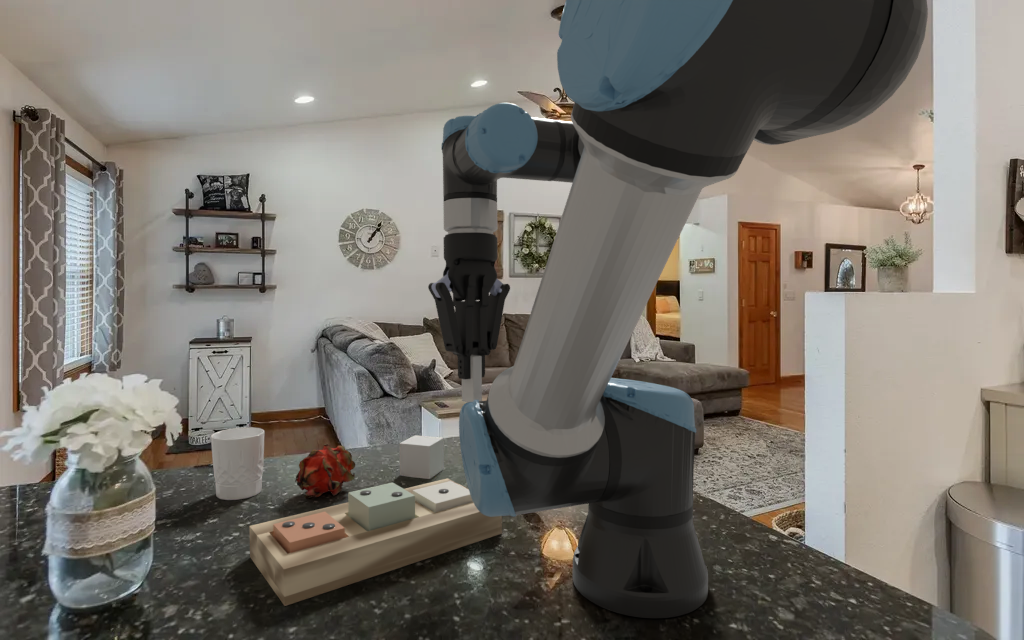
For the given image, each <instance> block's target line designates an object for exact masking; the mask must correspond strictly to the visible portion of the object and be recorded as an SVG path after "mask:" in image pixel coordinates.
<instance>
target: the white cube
mask: <svg viewBox="0 0 1024 640" xmlns="http://www.w3.org/2000/svg"><path fill="white" fill-rule="evenodd" d="M444 442H445V438H444V437H437V436H430V435H429V436H426V435H418V434H415V435H413V436H411V437H409V438H407V439H405V440H403V441H402V442H399V443H398V445H399V451H398V452H399V476H400V477H409V478H418V479H419V478H420V479H428V480H430V479H432V478H433V477H435V476H437V475H438V474H439V473H441V472H442V471H444V469H445V448H444V447H445V443H444Z"/></svg>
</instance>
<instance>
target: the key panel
mask: <svg viewBox="0 0 1024 640" xmlns="http://www.w3.org/2000/svg"><path fill="white" fill-rule="evenodd" d="M448 481H452V482H454V483H456V484H458V485H460V486H462V487H464V488H466V489H468V487H465V486H463V485H462V484H460V483H459V482H456V481H454V480H452V479H450V478H448V477H447V478H443V479H439V480H435V481H432V482H427V483H423V484H419V485H415V486H410V487H407V488H404V489H405V490H406V491H408V492H410V493H411V494H413V490H416V489H420V488H424V487H428V486H432V485H436V484H440V483H444V482H448ZM468 490H469V489H468ZM321 512H326V513H328V514H329V515H330V516H331V517H332V518H333V519H335V520H336V521H337V522H338V523H339V524H341V525H342V526H343V527H344V528H345V538H342V539H339V540H335V541H332V542H328V543H324V544H321V545H317V546H314V547H310V548H306V549H303V550H299V551H296V552H292V553H289V554H287V553H286V551H285V550H284V549H283V548H282V547H281V546H280V544H279V543H278V542H277V541H276V540H275V539H274V537H273V524H276V523H280V522H284V521H288V520H292V519H296V518H301V517H305V516H309V515H313V514H317V513H321ZM502 526H503V516H495V517H489V516H485V515H483V514H482V513H481V512H480V511H479V510H478V509H477V508H476V506H475V504H474V503H473V502H471V503H468V504H464V505H460V506H457V507H453V508H450V509H446V510H442V511H439V512H433V511H431V510H430V509H428V508H426V507H425V506H423V505H421V504H420V503H418V502H416V501H415V518H414V519H410V520H407V521H403V522H400V523H396V524H392V525H389V526H385V527H382V528H378V529H374V530H371V531H366V530H365V529H364V528H362V527H361V526H360V525H359V524H357V523H356V522H355V521H354V520H352V519H351V518H350V517H349V516H348V501H347V502H344V503H339V504H336V505H331V506H327V507H323V508H319V509H315V510H314V509H313V510H310V511H306V512H301V513H298V514H297V513H296V514H294V515H288V516H286V517H281V518H277V519H272V520H268V521H264V522H260V523H257V524H252V525H249V558H250V559H251V561H252V562H253V563H254V565H255V566H256V567H257V569H258V570H259V572H260V573H261V574H262V576H263V577H264V578H263V579H265V580H266V581H267V583H268V585H269V586H270V588H271V589H272V591H273V592H274V594H275V595H276V596H277V597H278V598H279V600H280V601H281V603H282V605H283V606H284V607H285V606H286V607H287V606H289V605H292V604H295V603H298V602H301V601H304V600H307V599H310V598H313V597H317V596H320V595H323V594H325V593H328V592H331V591H334V590H337V589H340V588H343V587H346V586H348V585H352V584H355V583H358V582H361V581H365V580H368V579H370V578H373V577H376V576H379V575H382V574H385V573H388V572H391V571H394V570H397V569H400V568H403V567H406V566H409V565H411V564H415V563H418V562H420V561H424V560H427V559H430V558H433V557H437V556H439V555H442V554H445V553H448V552H451V551H454V550H457V549H460V548H463V547H466V546H469V545H472V544H475V543H478V542H480V541H483V540H484V541H485V540H487V539H490V538H494V537H497V536H499V535H503V531H502V530H503V527H502Z"/></svg>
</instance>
